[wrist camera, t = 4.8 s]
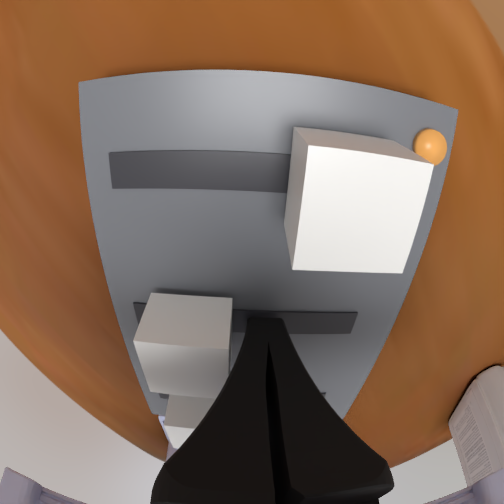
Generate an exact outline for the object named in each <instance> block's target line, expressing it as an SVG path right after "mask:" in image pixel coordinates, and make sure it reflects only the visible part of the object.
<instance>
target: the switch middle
mask: <svg viewBox="0 0 504 504" xmlns="http://www.w3.org/2000/svg"><path fill="white" fill-rule="evenodd" d="M133 342H134V345H135V348H136V352H137V355H138V358H139V361H140V364H141V367H142V370H143V373H144V376H145V378H146V381H147V384H148V387H149V390H150V392H155V393H163V394H171V395H180V396H190V397H201V398H214V399H216V398H217V396H218V395H219V393H220V391H221V389H222V388H223V386H224V384H225V382H226V380H227V378H228V376H229V374H230V370H231V354H232V298H225V297H207V296H191V295H176V294H162V293H151V294H150V297H149V299H148V302H147V305H146V307H145V310H144V312H143V315H142V318H141V320H140V323H139V326H138V329H137V331H136V334H135V337H134V340H133Z"/></svg>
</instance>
